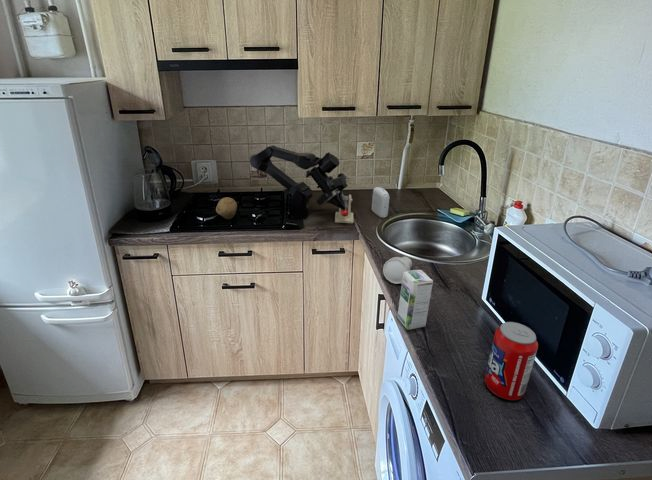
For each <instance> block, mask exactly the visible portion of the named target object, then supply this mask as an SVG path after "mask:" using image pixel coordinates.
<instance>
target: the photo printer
mask: <svg viewBox="0 0 652 480" xmlns="http://www.w3.org/2000/svg"><path fill="white" fill-rule="evenodd" d="M389 206H390V194H389V193H388V191H387V190H386V189H385V188H383V187H381V186H376V187H374V188H373V189H372V199H371V211H372V212H373V213H374V214H375V215H376V216H377V217H379V218H383V219H384V218H387V217H388V215H389Z"/></svg>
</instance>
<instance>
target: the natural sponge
mask: <svg viewBox="0 0 652 480" xmlns="http://www.w3.org/2000/svg"><path fill="white" fill-rule="evenodd" d="M237 210H238V204H237V201H235V199H233V197H232V198H231V197H228V196H227V197H223V198H221V199H219V201H218V203H217V205H216V207H215V212H216V213H217V215H219V216H221V217H222V218H224V219H226V220H231V219H233V218H234V217H235V215H236V213H237Z"/></svg>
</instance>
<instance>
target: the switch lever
mask: <svg viewBox="0 0 652 480" xmlns="http://www.w3.org/2000/svg"><path fill="white" fill-rule="evenodd" d="M342 198H343V201H344V204H345V207H346V209H345V210H343V209H341V214H342V216H344V217H346V216H347V215H348V209H347V205H348V201H349V195H342Z"/></svg>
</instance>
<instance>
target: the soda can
mask: <svg viewBox="0 0 652 480" xmlns="http://www.w3.org/2000/svg"><path fill="white" fill-rule="evenodd" d="M538 349H539V342H538V340H537V335H536V333H535V332H534V330H532V329H531V328H530V327H529V326H527V325H525V324H521V323H519V322H515V321H505V322H503V323H502V324H501V325H500V326H499V327H497V328H496V329H495V331H494V336H493V340H492V344H491V349H490V353H489V356H488V362H487V364H486V365H487V366H486V370H485V373H484V384H485V386H486V387H487V389H488V390H489V391H490V392H492V394H494V395H495V396H497V397H499V398H501V399H504V400H507V401H518V400H521V399H523V398H524V396H525V394H526V391H527V387H528V384H529V381H530V377H531V373H532V370H533V367H534V363H535V360H536V356H537V353H538Z"/></svg>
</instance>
